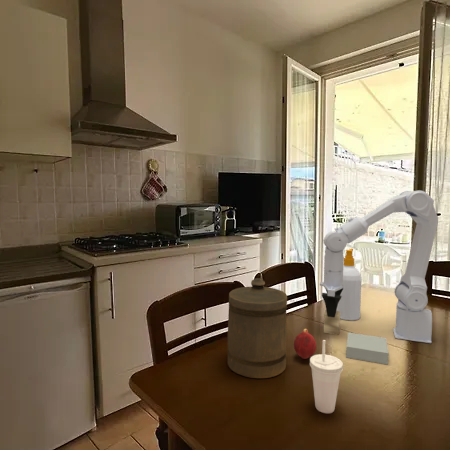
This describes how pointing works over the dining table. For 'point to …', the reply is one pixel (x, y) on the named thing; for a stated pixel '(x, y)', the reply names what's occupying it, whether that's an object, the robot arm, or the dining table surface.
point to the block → (332, 323)
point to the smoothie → (325, 380)
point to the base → (367, 348)
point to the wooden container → (257, 330)
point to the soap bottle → (350, 290)
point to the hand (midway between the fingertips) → (332, 312)
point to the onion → (305, 344)
